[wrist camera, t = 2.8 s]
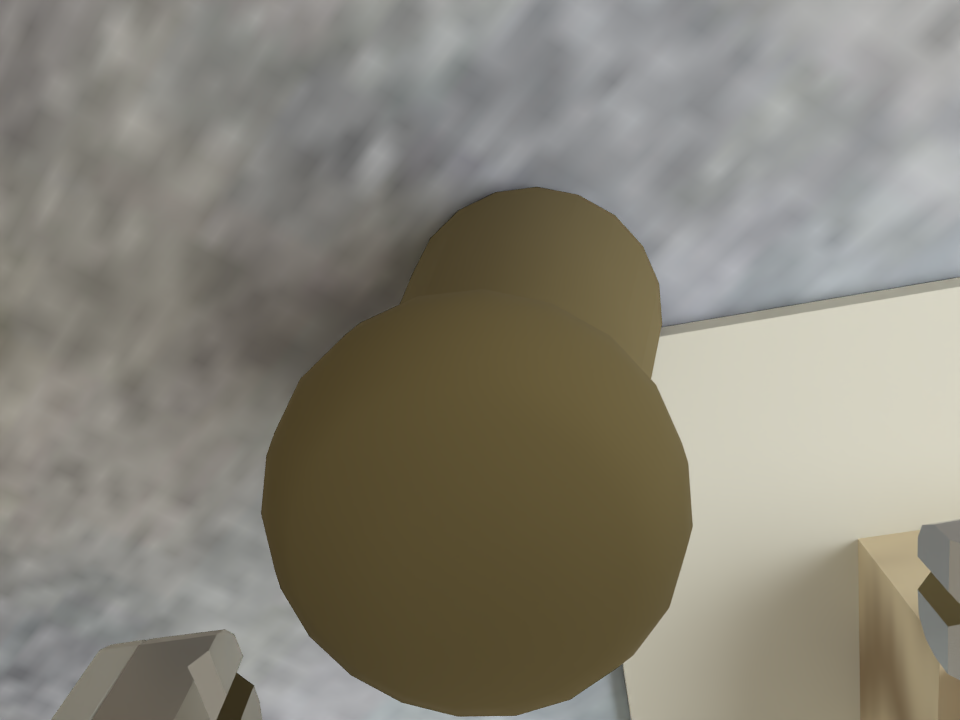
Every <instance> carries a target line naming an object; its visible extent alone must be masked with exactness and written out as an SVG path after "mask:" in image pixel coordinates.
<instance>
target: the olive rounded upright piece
mask: <svg viewBox="0 0 960 720" xmlns="http://www.w3.org/2000/svg"><path fill="white" fill-rule="evenodd" d="M661 327H662V316H661V303H660V290H659V283H658V280H657V278H656V276H655V273H654V271H653V269H652V266H651V264H650V262H649V259H648V257H647V255H646V252H645V250H644V248H643V246H642V245H641V244H640V243H639V241H638V240H637V239H636V238H635V237H634V236H633V235H632V234H631V233H630V232H629V230H628V229H627V228H626V227H625V226H624V225H623V224H622V223H621V222H620V220H619V219H618V218H617V217H616V216H615V215H613V214H611V213H610V212H608V211H606V210H604V209H603V208H601V207H599V206H597V205H595V204H594V203H592V202H590V201H588V200H587V199H585V198H583V197H581V196H579V195H576V194H571V193H566V192H561V191H555V190H550V189H545V188H540V187H533V188H525V189H518V190H510V191H503V192H495V193H493V194H491V195H489V196H487V197H485V198H483V199H481V200H479V201H477V202H475V203H473V204H471V205H469V206H467V207H465V208H463V209H461V210H459V211H458V212H457V213H456V214H455V215H454V216H453V217H452V218H451V219H450V220H449V221H448V222H446V223H445V224H444V225H443V226H442V227H441V228H440V229H439V230H438V231H437V232H436V233H435V234H434V235H433V236H432V237H431V238H430V240H429V242H428V244H427V246H426V248H425V250H424V252H423V254H422V256H421V258H420V260H419V262H418V264H417V266H416V268H415V270H414V272H413V274H412V276H411V279H410V281H409V283H408V286H407V288H406V291H405V293H404V295H403V298H402V300H401V302H400V305H398V306H395V307H393V308H391V309H389V310H387V311H385V312H383V313H380V314H378V315H376V316H374V317H372V318H370V319H367V320H365V321H363V322H361V323H359V324H358V325H357V326H356V327H354V328H353V329H352V330H351V331H350V332H348V333H347V334H346V335H345V336H344V337H343V338H342V339H341V340H340V341H339V342H338V343H337V344H335V345H334V346H333V347H332V348H331V349H330V350H329V351H328V352H327V353H326V354H325V355H324V356H323V357H322V358H321V359H320V360H319V361H318V362H317V363H316V364H315V365H314V366H313V367H312V368H311V369H310V370H309V371H308V372H307V373H306V374H305V375H304V376H303V377H302V378H301V379H300V380H299V382H298V385H297V387H296V389H295V391H294V393H293V395H292V397H291V399H290V401H289V403H288V406H287V408H286V410H285V412H284V414H283V416H282V418H281V420H280V422H279V424H278V427H277V429H276V431H275V433H274V436H273V438H272V441H271V444H270V447H269V450H268V453H267V456H266V467H265V478H264V488H263V499H262V510H261V515H262V519H263V523H264V527H265V531H266V536H267V540H268V544H269V548H270V552H271V556H272V560H273V565H274V569H275V572H276V575H277V579H278V582H279V585H280V588H281V590H282V592H283V593H284V595H285V597H286V598H287V600H288V602H289V603H290V605H291V607H292V608H293V610H294V612H295V613H296V615H297V617H298V618H299V620H300V621H301V623H302V625H303V626H304V628H305V630H306V631H307V633H308V635H309V636H310V637H311V638H312V639H313V640H314V641H315V642H316V643H317V644H318V645H319V646H320V647H321V648H322V649H324V650H325V651H326V652H327V653H328V654H329V655H330V656H331V657H332V658H333V659H334V660H335V661H336V662H337V663H339V664H340V665H341V666H342V667H343V668H344V669H345V670H346V671H347V672H348V673H349V674H350V675H352V676H354V677H355V678H357V679H359V680H361V681H363V682H365V683H366V684H368V685H370V686H372V687H374V688H376V689H378V690H379V691H381V692H383V693H385V694H387V695H389V696H391V697H392V698H394V699H396V700H398V701H400V702H402V703H406V704H410V705H414V706H418V707H422V708H426V709H430V710H434V711H438V712H442V713H446V714H450V715H454V716H516V715H520V714H523V713H526V712H530V711H533V710H537V709H540V708H543V707H547V706H550V705H553V704H557V703H560V702H564V701H567V700H570V699H572V698H573V697H575V696H576V695H578V694H579V693H581V692H582V691H583V690H585V689H586V688H588V687H589V686H591V685H592V684H594V683H595V682H597V681H598V680H600V679H601V678H603V677H604V676H606V675H607V674H609V673H610V672H612V671H613V670H615V669H616V668H618V667H619V666H620V665H621V664H623V663H624V662H625V661H627V660H628V659H629V658H631V657H632V656H633V655H634V654H635V653H636V651H637V650H638V649H639V647H640V646H641V645H642V643H643V642H644V641H645V639H646V638H647V637H648V635H649V634H650V633H651V632H652V630H653V629H654V628H655V626H656V625H657V624H658V622H659V621H660V620H661V618H662V617H663V616H664V614H665V613H666V612H667V610H668V609H669V607H670V604H671V601H672V597H673V594H674V590H675V587H676V584H677V580H678V577H679V574H680V570H681V567H682V564H683V560H684V557H685V554H686V550H687V547H688V543H689V539H690V535H691V531H692V528H693V522H692V508H691V494H690V479H689V465H688V460H687V457H686V454H685V451H684V448H683V444H682V442H681V439H680V437H679V435H678V433H677V430H676V428H675V426H674V424H673V422H672V419H671V417H670V415H669V413H668V410H667V408H666V406H665V404H664V401H663V399H662V397H661V395H660V392H659V390H658V388H657V386H656V384H655V383H654V382H653V381H652V380H651V377H652V372H653V367H654V362H655V357H656V352H657V347H658V342H659V337H660V332H661Z"/></svg>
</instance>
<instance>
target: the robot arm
mask: <svg viewBox="0 0 960 720" xmlns="http://www.w3.org/2000/svg"><path fill="white" fill-rule="evenodd" d="M918 558H919V559H920V560H921V561H922V562H923V563H924V564H925V566H926V567H927V568H928V569H929V570H930V571H931V572H930V573H929V575H928V576H927V577H926V579H925V580H924V581H923V583H922V584H921V585H920V587H919V588H918V611H919V617H920V621H921V624H922V628H923V631H924V635H925V638H926V640H927V642H928V644H929V646H930V648H931V650H932V652H933V654H934V656H935V657H936V659H937V660H938V662H939V663H940V664H941V666H942V667H943V668H944V670H945V671H946V672H947V674H948V675H950V676H952V677H954V678H956V679H958V680H960V519H956V520H949V521H943V522H937V523H931V524H925V525H922V527H921V530H920V532H919V535H918ZM242 658H243V654H242V652H241V650H240V647H239V645H238V642H237V640H236V637H235V635H234V634H233V633H231V632H229V631H227V630H225V629H224V630H216V631H208V632H200V633H192V634H185V635H177V636H169V637H161V638H153V639H149V640H139V641H133V642H126V643H119V644H113V645H110V646H107V647H105V648H103V649H101V650H99V652H98V653H97V655H96V656H95V658H94V659H93V660H92V662H91V663H90V665H89V666H88V668H87V669H86V670H85V672H84V673H83V675H82V676H81V678H80V679H79V681H78V682H77V683H76V685H75V686H74V688H73V689H72V691H71V692H70V693H69V695H68V696H67V698H66V699H65V701H64V702H63V704H62V705H61V706H60V708H59V709H58V711H57V712H56V714H55V715H54V716H53V718H52V719H51V720H262V715H261V708H260V702H259V699H258V696H257V693H256V690H255V687H254V685H252V684H251V683H250V682H248V681H247V680H246V679H244V678H243V677H242V676H240V675H239V674H238V673H236V672H237V670H238V668H239V665H240V663H241V660H242Z"/></svg>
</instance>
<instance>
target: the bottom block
mask: <svg viewBox="0 0 960 720" xmlns="http://www.w3.org/2000/svg"><path fill="white" fill-rule="evenodd" d="M919 532H920V530H916V531H909V532H902V533H895V534H888V535H881V536H874V537H867V538H860V539H858V580H859V658H860V720H960V680H958V679H956V678H954V677H952V676H950V675H948V674H947V672H946V671H945V670H944V668H943V667H942V666H941V664H940V663H939V662H938V660H937V659H936V657H935V656H934V654H933V652H932V650H931V648H930V646H929V644H928V642H927V640H926V638H925V635H924V631H923V628H922V624H921V621H920V617H919V611H918V588H919V587H920V585H921V584H922V583H923V581H924V580H925V579H926V577H927V576H928V575H929V573H930V572H931V571H930V570H929V569H928V568H927V567H926V566H925V564H924V563H923V562H922V561H921V560H920V559H919V558H918V535H919Z"/></svg>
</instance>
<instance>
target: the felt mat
mask: <svg viewBox="0 0 960 720" xmlns="http://www.w3.org/2000/svg"><path fill="white" fill-rule="evenodd" d="M651 380H652V381H653V382H654V383H655V384H656V386H657V388H658V390H659V392H660V395H661V397H662V399H663V401H664V404H665V406H666V408H667V410H668V413H669V415H670V417H671V419H672V422H673V424H674V426H675V428H676V430H677V433H678V435H679V437H680V439H681V442H682V444H683V448H684V451H685V454H686V457H687V460H688V465H689V479H690V494H691V508H692V522H693V528H692V531H691V535H690V539H689V543H688V547H687V550H686V554H685V557H684V560H683V564H682V567H681V570H680V574H679V577H678V580H677V584H676V587H675V590H674V594H673V597H672V601H671V604H670V607H669V609H668V610H667V612H666V613H665V614H664V616H663V617H662V618H661V620H660V621H659V622H658V624H657V625H656V626H655V628H654V629H653V630H652V632H651V633H650V634H649V635H648V637H647V638H646V639H645V641H644V642H643V643H642V645H641V646H640V647H639V649H638V650H637V651H636V653H635V654H634V655H633V656H632V657H631V658H629V659H628V660H627V661H625V662H624V663H623V671H624V677H625V684H626V690H627V697H628V704H629V710H630V717H631V720H860V658H859V580H858V539H860V538H867V537H874V536H881V535H888V534H895V533H902V532H909V531H916V530H921V527H922V525H925V524H931V523H937V522H943V521H949V520H956V519H960V277H959V278H953V279H947V280H941V281H935V282H929V283H923V284H917V285H911V286H905V287H899V288H893V289H887V290H881V291H875V292H869V293H863V294H858V295H852V296H846V297H840V298H834V299H828V300H822V301H816V302H810V303H804V304H798V305H792V306H786V307H780V308H774V309H768V310H762V311H756V312H750V313H744V314H739V315H733V316H727V317H721V318H715V319H709V320H703V321H697V322H691V323H685V324H679V325H673V326H667V327H661V332H660V337H659V342H658V347H657V352H656V357H655V362H654V367H653V372H652V377H651Z"/></svg>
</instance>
